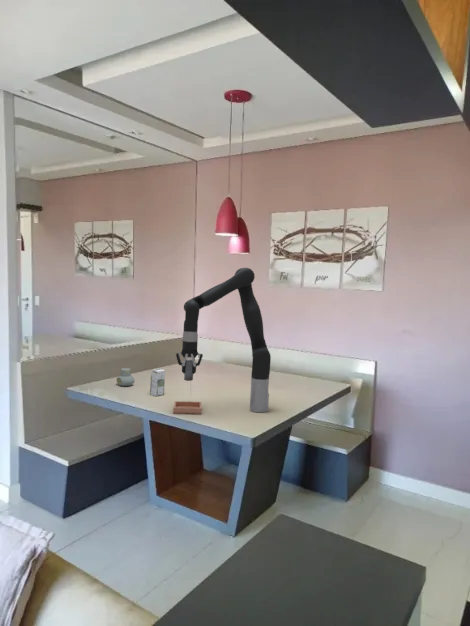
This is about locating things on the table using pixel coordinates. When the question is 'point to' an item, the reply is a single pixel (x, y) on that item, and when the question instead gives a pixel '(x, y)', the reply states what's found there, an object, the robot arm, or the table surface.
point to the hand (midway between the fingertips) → (188, 373)
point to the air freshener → (125, 377)
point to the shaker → (188, 369)
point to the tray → (187, 407)
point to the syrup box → (157, 382)
